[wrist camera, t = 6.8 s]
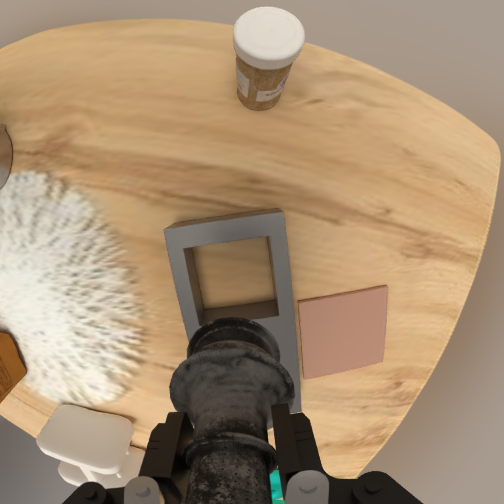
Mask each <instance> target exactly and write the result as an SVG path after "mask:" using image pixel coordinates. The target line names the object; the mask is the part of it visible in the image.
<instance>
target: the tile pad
mask: <svg viewBox="0 0 504 504" xmlns="http://www.w3.org/2000/svg"><path fill="white" fill-rule="evenodd" d="M387 301H388V286H386V285H384V286H379V287H374V288H369V289H363V290H358V291H353V292H347V293H342V294H336V295H331V296H325V297H319V298H313V299H307V300H301V301H298V310H299V322H300V335H301V349H302V364H303V378H304V380H305V379H310V378H316V377H321V376H326V375H331V374H335V373H340V372H344V371H349V370H353V369H357V368H361V367H365V366H369V365H373V364H377V363H380V362H383V356H384V346H385V335H386V321H387Z"/></svg>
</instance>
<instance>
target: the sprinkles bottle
mask: <svg viewBox="0 0 504 504" xmlns="http://www.w3.org/2000/svg"><path fill="white" fill-rule="evenodd" d="M304 42H305V31H304V28H303V26H302V24H301V22H300V21H299V20H298V19H297V18H296V17H295V16H294V15H292V14H291V13H289V12H287V11H285V10H283V9H280V8H276V7H258V8H254V9H252V10H249V11H247V12H245V13H244V14H243V15H241V16H240V17H239V18H238V20H237V21H236V23H235V25H234V28H233V45H234V49H235V51H236V71H237V85H238V88H237V94H238V97H239V99H240V101H241V102H242V103H243V104H244V105H245V106H247V107H248V108H250V109H252V110H266V109H268V108H270V107H272V106H273V105H275V104H276V103H277V102H278V100H279V98H280V94H281V91H282V89H283V87H284V84H285V81H286V79H287V77H288V74H289V72H290V68H291V66H292V63H293V62H294V61H295V60H296V58H297V57H298V56H299V54H300V52H301V50H302V47H303V45H304Z"/></svg>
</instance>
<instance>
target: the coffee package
mask: <svg viewBox="0 0 504 504" xmlns="http://www.w3.org/2000/svg"><path fill="white" fill-rule="evenodd" d="M25 375H26V369H25V367H24V366H23V364H22V362H21V360H20V358H19V355H18V352H17V349H16V346H15V344H14V342H13V341H12V339H11V337H10V335H9V334H6V333H1V332H0V403H1V402H2V401H3V400H4V399H5V397H6V396H7V395H8V394H9V393H10V392H11V390H12V389H13V388H14V387H15V385H16V384H17V383H18V382H19V381H20V380H21V379H22V378H23V377H24V376H25Z"/></svg>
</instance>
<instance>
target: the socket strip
mask: <svg viewBox="0 0 504 504" xmlns="http://www.w3.org/2000/svg"><path fill="white" fill-rule="evenodd" d="M164 234H165V240H166V245H167V250H168V255H169V260H170V265H171V269H172V274H173V279H174V283H175V288H176V292H177V296H178V301H179V305H180V309H181V313H182V317H183V321H184V325H185V329H186V333H187V337H188V340H189V342H190V339H191V338H192V336H193V335H194V334H195V332H196V331H197V330H198V329H199V328H201V327H202V326H203V325H205V324H206V323H208V322H211V321H213V320H216V319H220V318H226V317H238V318H245V319H248V320H251V321H255V322H257V323H258V324H260V325H262V326H263V327H265V328H266V329H267V330H268V331H269V332H270V333H271V334H272V335H273V336H274V337H275V339H276V341H277V343H278V345H279V350H280V356H281V357H280V364H281V365H282V366H283V367H284V368H285V369H286V370H287V371H288V373H289V374H290V376H291V378H292V380H293V382H294V389H295V398H294V403H293V407H292V408H291V410H290V414H291V413H297V412H302V409H301V393H300V377H299V363H298V350H297V337H296V326H295V314H294V303H293V293H292V283H291V273H290V263H289V254H288V245H287V236H286V227H285V219H284V212H283V211H282V210H280V209H279V208H275V209H268V210H260V211H253V212H246V213H239V214H232V215H225V216H218V217H212V218H205V219H199V220H193V221H187V222H180V223H174V224H172V225H170V226H169V227H167V228H165V229H164ZM266 236H267V238H268V246H269V254H270V262H271V270H272V278H273V286H274V294H275V300H274V301H267V302H260V303H253V304H246V305H238V306H230V307H222V308H214V309H206V310H204V306H203V302H202V297H201V292H200V287H199V282H198V277H197V272H196V267H195V262H194V257H193V251H192V247H196V246H203V245H210V244H216V243H223V242H230V241H237V240H244V239H252V238H259V237H266Z"/></svg>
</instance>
